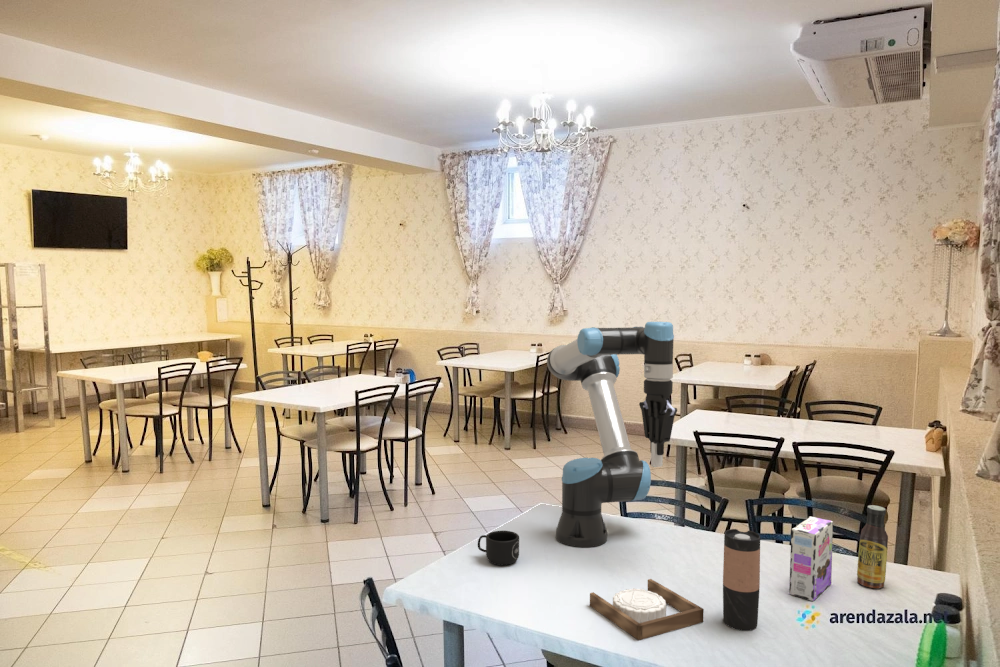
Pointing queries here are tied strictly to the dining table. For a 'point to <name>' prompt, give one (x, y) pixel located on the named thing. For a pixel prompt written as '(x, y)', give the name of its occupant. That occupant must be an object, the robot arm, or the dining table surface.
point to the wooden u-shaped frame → (685, 618)
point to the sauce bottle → (873, 549)
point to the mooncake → (640, 604)
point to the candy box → (811, 558)
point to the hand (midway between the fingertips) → (656, 466)
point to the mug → (501, 547)
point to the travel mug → (741, 579)
